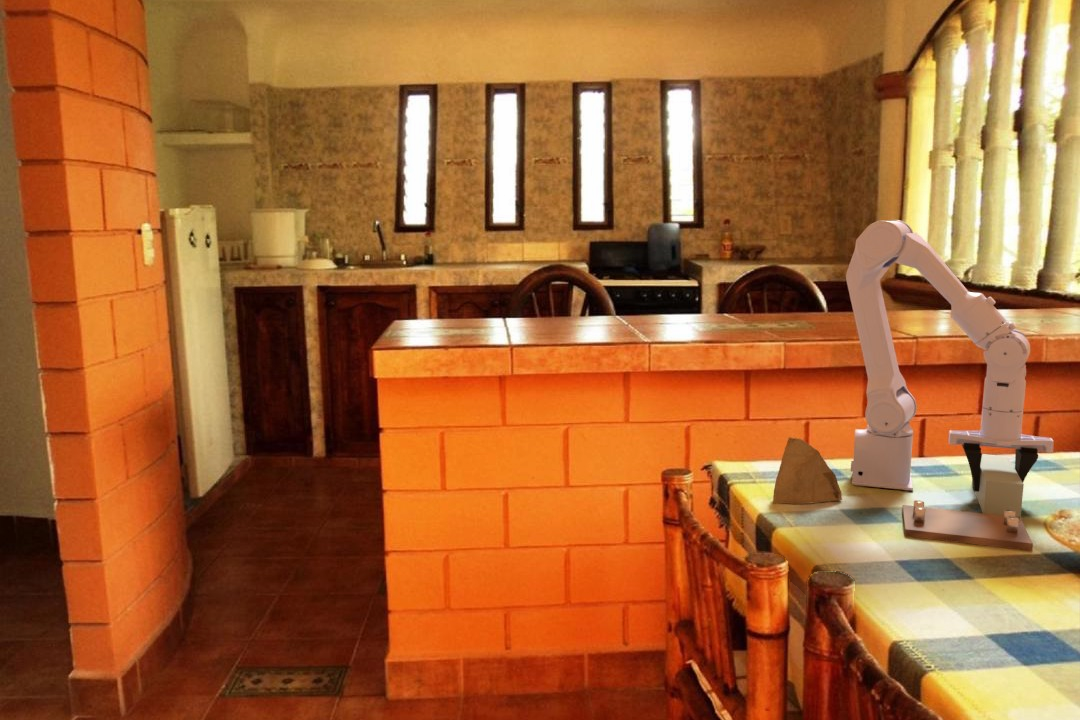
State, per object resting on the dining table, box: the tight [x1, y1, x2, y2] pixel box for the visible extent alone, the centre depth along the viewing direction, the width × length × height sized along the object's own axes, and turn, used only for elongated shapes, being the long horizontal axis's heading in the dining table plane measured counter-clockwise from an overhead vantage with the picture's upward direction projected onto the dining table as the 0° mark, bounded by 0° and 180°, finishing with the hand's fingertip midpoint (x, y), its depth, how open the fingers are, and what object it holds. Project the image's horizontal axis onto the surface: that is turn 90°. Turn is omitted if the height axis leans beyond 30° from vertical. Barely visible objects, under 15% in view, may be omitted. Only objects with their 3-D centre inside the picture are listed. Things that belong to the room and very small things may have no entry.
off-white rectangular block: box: [971, 453, 1025, 519], centre depth 138 cm, size 16×5×6 cm, turn 160°
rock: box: [772, 436, 843, 505], centre depth 138 cm, size 11×9×10 cm
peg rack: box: [901, 499, 1034, 551], centre depth 126 cm, size 16×11×3 cm
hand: (995, 491), depth 139 cm, fingers closed on off-white rectangular block, 5 cm apart
